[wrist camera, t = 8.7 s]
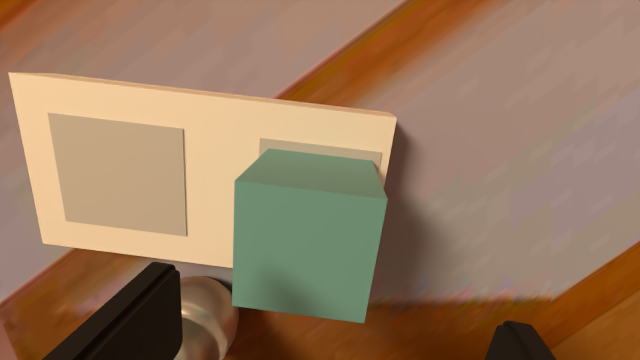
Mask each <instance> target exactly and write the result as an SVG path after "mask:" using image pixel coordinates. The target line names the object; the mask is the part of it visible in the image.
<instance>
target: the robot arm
mask: <svg viewBox="0 0 640 360" xmlns="http://www.w3.org/2000/svg"><path fill="white" fill-rule="evenodd" d="M182 342H183V330H182V308H181V287H180V273H179V271H177V270H176V269H175V266H174V265H172V264H166V263H160V262H152V263H151V264H150V265H148V266H147V267H146V268H145V269H144V270H143V271H142V272H141V273H139V274H138V275H137V276H136V277H135V278H134V279H133V280H131V281H130V282H129V283H128V284H127V285H126V286H125V287H124V288H122V289H121V290H120V291H119V292H118V293H117V294H116V295H115V296H113V297H112V298H111V299H110V300H109V301H108V302H107V303H105V304H104V305H103V306H102V307H101V308H100V309H99V310H98V311H96V312H95V313H94V314H93V315H92V316H91V317H90V318H89V319H87V320H86V321H85V322H84V323H83V324H82V325H81V326H80V327H78V328H77V329H76V330H75V331H74V332H73V333H72V334H70V335H69V336H68V337H67V338H66V339H65V340H64V341H63V342H61V343H60V344H59V345H58V346H57V347H56V348H55V349H54V350H52V351H51V352H50V353H49V354H48V355H47V356H46V357H44V358H43V359H42V360H174V359H175V357H176V356H177V354H178V352H179V351H180V348H181V346H182ZM485 360H556V358H555V357H554V356H553V354H552V353H551V351H550V350H549V349H548V347H547V346H546V344H545V343H544V342H543V340H542V339H541V337H540V336H539V335H538V333H537V332H536V330H535V329H534V328H533V327H532V326H531V325H529V324H525V323H519V322H513V321H505V322H504V323H503V325H499V326H497V328H496V331H495V333H494V336H493V339H492V342H491V344H490V347H489V350H488V352H487V355H486V358H485Z"/></svg>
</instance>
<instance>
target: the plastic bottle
mask: <svg viewBox="0 0 640 360" xmlns="http://www.w3.org/2000/svg"><path fill="white" fill-rule="evenodd" d="M180 287H181V308H182V330H183V342H182V346H181V348H180V351H179V352H178V354H177V356H176V357H175V359H174V360H223V358H224V357H225V355H226V353H227V352H228V350H229V348H230V346H231V345H232V343H233V341H234V339H235V337H236V332H237V327H238V321H239V309H238V306H232V293H231V292H230V291H229V290H228V289H227V288H226V287H225V286H224V285H223V284H221V283H220V282H218V281H216V280H214V279H211V278H208V277H203V276H191V277H184V278H181V279H180Z"/></svg>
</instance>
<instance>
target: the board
mask: <svg viewBox="0 0 640 360" xmlns="http://www.w3.org/2000/svg"><path fill="white" fill-rule="evenodd" d="M9 77H10V82H11V87H12V92H13V97H14V102H15V107H16V112H17V117H18V122H19V127H20V132H21V137H22V142H23V147H24V151H25V156H26V161H27V166H28V171H29V176H30V181H31V186H32V191H33V196H34V201H35V206H36V211H37V216H38V221H39V226H40V231H41V236H42V241H43V243H44V244H52V245H60V246H67V247H75V248H83V249H91V250H98V251H106V252H114V253H121V254H129V255H137V256H144V257H152V258H160V259H167V260H175V261H183V262H191V263H198V264H206V265H214V266H221V267H229V268H233V233H234V183H235V180H236V179H237V178H238V177H239V176H240V175H241V174H242V173H243V172H244V171H245V170H246V169H247V168H248V167H249V166H250V165H252V164H253V163H254V162H255V161H256V160H257V159H258V158H259V157H260V156H261V155H262V154H263V153H264V152H265V151H266V150H267V149H268V148H270V149H279V150H287V151H295V152H304V153H312V154H320V155H329V156H337V157H346V158H354V159H362V160H371V161H372V162H373V164H374V167H375V169H376V172H377V174H378V176H379V179H380V181H381V184H382V186H383V189H384V185H385V180H386V174H387V169H388V163H389V158H390V153H391V147H392V142H393V136H394V131H395V126H396V120H397V117H395V116H394V115H392V114H390V113H389V112H382V111H373V110H365V109H356V108H347V107H339V106H330V105H322V104H313V103H304V102H296V101H287V100H278V99H270V98H261V97H253V96H244V95H235V94H227V93H218V92H209V91H201V90H192V89H184V88H175V87H166V86H158V85H149V84H140V83H132V82H123V81H115V80H106V79H97V78H89V77H80V76H72V75H63V74H50V73H9Z"/></svg>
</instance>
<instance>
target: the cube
mask: <svg viewBox="0 0 640 360" xmlns="http://www.w3.org/2000/svg"><path fill="white" fill-rule="evenodd" d="M387 201H388V199H387V196H386V194H385V191H384V189H383V186H382V184H381V181H380V179H379V176H378V174H377V172H376V169H375V167H374V164H373V162H372V161H371V160H362V159H354V158H346V157H337V156H329V155H320V154H312V153H304V152H295V151H287V150H279V149H270V148H268V149H267V150H266V151H265V152H264V153H263V154H262V155H261V156H260V157H259V158H258V159H257V160H256V161H255V162H254V163H253V164H252V165H250V166H249V167H248V168H247V169H246V170H245V171H244V172H243V173H242V174H241V175H240V176H239V177H238V178H237V179H236V180H235V183H234V233H233V283H232V306H238V307H245V308H253V309H260V310H268V311H276V312H283V313H291V314H298V315H306V316H313V317H321V318H328V319H336V320H344V321H351V322H359V323H364V321H365V316H366V311H367V306H368V300H369V295H370V290H371V285H372V279H373V274H374V269H375V264H376V258H377V253H378V248H379V243H380V237H381V232H382V227H383V222H384V217H385V211H386V206H387Z"/></svg>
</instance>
